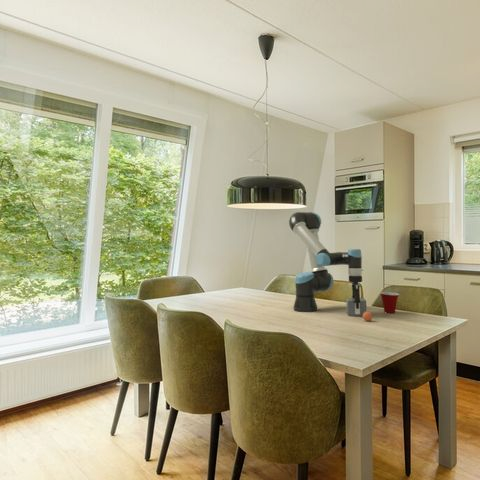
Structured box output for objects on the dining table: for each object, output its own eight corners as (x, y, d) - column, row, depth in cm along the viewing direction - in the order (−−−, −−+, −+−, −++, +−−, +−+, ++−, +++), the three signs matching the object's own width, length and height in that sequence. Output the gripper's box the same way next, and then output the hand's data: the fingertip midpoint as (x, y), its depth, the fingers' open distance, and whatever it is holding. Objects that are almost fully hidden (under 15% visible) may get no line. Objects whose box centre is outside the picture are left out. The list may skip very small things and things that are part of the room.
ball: (363, 321, 200) (363, 312, 200) (362, 319, 205) (361, 310, 205) (373, 322, 199) (372, 312, 199) (371, 320, 204) (371, 310, 204)
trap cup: (348, 315, 216) (347, 300, 216) (346, 312, 226) (346, 298, 226) (366, 316, 214) (366, 300, 214) (364, 312, 224) (364, 298, 224)
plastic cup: (401, 314, 217) (401, 293, 217) (382, 314, 219) (381, 293, 219) (397, 311, 227) (397, 291, 227) (379, 310, 229) (378, 291, 229)
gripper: (364, 277, 208) (365, 316, 208) (359, 273, 231) (360, 308, 231) (350, 277, 209) (351, 316, 209) (347, 273, 233) (348, 308, 233)
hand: (356, 312), depth 220 cm, fingers open, 12 cm apart
